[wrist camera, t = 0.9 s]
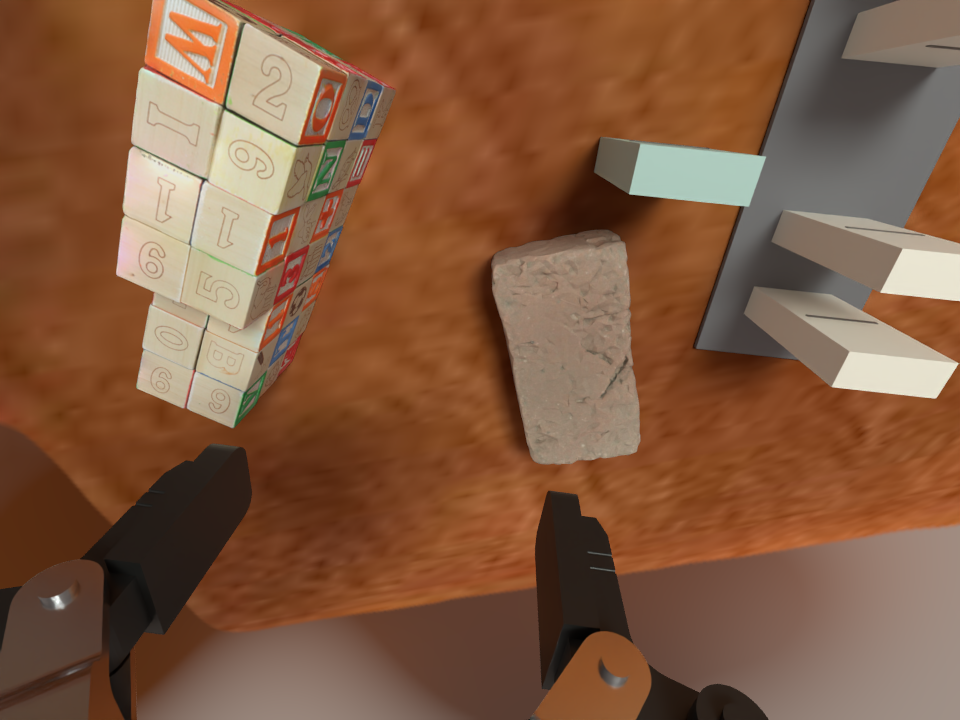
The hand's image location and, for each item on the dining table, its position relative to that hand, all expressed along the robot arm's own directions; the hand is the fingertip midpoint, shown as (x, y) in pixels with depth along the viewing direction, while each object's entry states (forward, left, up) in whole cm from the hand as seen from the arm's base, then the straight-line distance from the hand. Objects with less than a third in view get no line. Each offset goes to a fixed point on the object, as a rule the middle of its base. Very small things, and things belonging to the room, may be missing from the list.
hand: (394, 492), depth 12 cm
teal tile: (-8, +10, -23) cm, 26 cm away
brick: (+5, +8, -23) cm, 25 cm away
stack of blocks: (-1, -12, -23) cm, 26 cm away
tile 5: (0, +22, -22) cm, 31 cm away
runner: (-10, +22, -22) cm, 33 cm away
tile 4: (-5, +22, -22) cm, 31 cm away
